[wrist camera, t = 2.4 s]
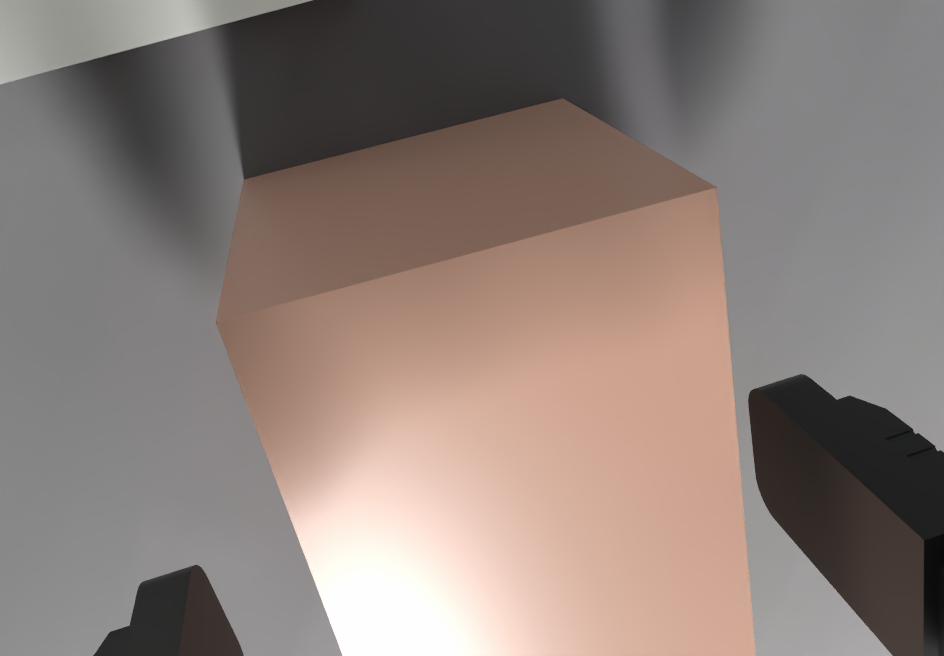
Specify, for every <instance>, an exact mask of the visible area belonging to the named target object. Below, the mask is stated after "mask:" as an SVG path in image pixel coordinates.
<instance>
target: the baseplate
mask: <svg viewBox="0 0 944 656" xmlns="http://www.w3.org/2000/svg"><path fill="white" fill-rule="evenodd" d="M308 1H312V0H0V84H3V83H7V82H11V81H14V80H18V79H22V78H25V77H29V76H33V75H37V74H40V73H44V72H48V71H52V70H55V69H59V68H63V67H66V66H70V65H74V64H78V63H81V62H85V61H89V60H92V59H96V58H100V57H104V56H107V55H111V54H115V53H118V52H122V51H126V50H130V49H133V48H137V47H141V46H145V45H148V44H152V43H156V42H159V41H163V40H167V39H171V38H174V37H178V36H182V35H185V34H189V33H193V32H197V31H200V30H204V29H208V28H212V27H215V26H219V25H223V24H226V23H230V22H234V21H238V20H241V19H245V18H249V17H252V16H256V15H260V14H264V13H267V12H271V11H275V10H278V9H282V8H286V7H290V6H293V5H297V4H301V3H305V2H308Z"/></svg>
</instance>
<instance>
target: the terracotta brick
mask: <svg viewBox="0 0 944 656" xmlns="http://www.w3.org/2000/svg"><path fill="white" fill-rule="evenodd" d="M216 324H217V327H218V329H219V332H220V335H221V337H222V340H223V342H224V345H225V348H226V350H227V353H228V356H229V358H230V361H231V363H232V366H233V369H234V371H235V374H236V377H237V379H238V382H239V384H240V387H241V390H242V392H243V395H244V397H245V400H246V403H247V405H248V408H249V411H250V413H251V416H252V418H253V421H254V424H255V426H256V429H257V432H258V434H259V437H260V439H261V442H262V445H263V447H264V450H265V453H266V455H267V458H268V460H269V463H270V466H271V468H272V471H273V473H274V476H275V479H276V481H277V484H278V487H279V489H280V492H281V494H282V497H283V500H284V502H285V505H286V508H287V510H288V513H289V515H290V518H291V521H292V523H293V526H294V529H295V531H296V534H297V536H298V539H299V542H300V544H301V547H302V549H303V552H304V555H305V557H306V560H307V563H308V565H309V568H310V570H311V573H312V576H313V578H314V581H315V584H316V586H317V589H318V591H319V594H320V597H321V599H322V602H323V605H324V607H325V610H326V612H327V615H328V618H329V620H330V623H331V625H332V628H333V631H334V633H335V636H336V639H337V641H338V644H339V646H340V649H341V652H342V654H343V656H756V653H755V641H754V629H753V617H752V605H751V593H750V581H749V569H748V557H747V545H746V533H745V521H744V508H743V496H742V484H741V472H740V460H739V448H738V436H737V424H736V412H735V400H734V388H733V376H732V364H731V352H730V339H729V327H728V315H727V303H726V291H725V279H724V267H723V255H722V243H721V231H720V219H719V207H718V195H717V187H715V186H714V185H712V184H710V183H708V182H707V181H705V180H703V179H701V178H700V177H698V176H696V175H695V174H693V173H691V172H689V171H688V170H686V169H684V168H682V167H681V166H679V165H677V164H676V163H674V162H672V161H670V160H669V159H667V158H665V157H663V156H662V155H660V154H658V153H657V152H655V151H653V150H651V149H650V148H648V147H646V146H644V145H643V144H641V143H639V142H638V141H636V140H634V139H632V138H631V137H629V136H627V135H625V134H624V133H622V132H620V131H619V130H617V129H615V128H613V127H612V126H610V125H608V124H606V123H605V122H603V121H601V120H600V119H598V118H596V117H594V116H593V115H591V114H589V113H587V112H586V111H584V110H582V109H581V108H579V107H577V106H575V105H574V104H572V103H570V102H568V101H567V100H565V99H563V98H562V99H558V100H554V101H550V102H546V103H542V104H538V105H534V106H530V107H526V108H522V109H519V110H515V111H511V112H507V113H503V114H499V115H495V116H491V117H487V118H483V119H479V120H475V121H472V122H468V123H464V124H460V125H456V126H452V127H448V128H444V129H440V130H436V131H432V132H428V133H424V134H421V135H417V136H413V137H409V138H405V139H401V140H397V141H393V142H389V143H385V144H381V145H377V146H373V147H370V148H366V149H362V150H358V151H354V152H350V153H346V154H342V155H338V156H334V157H330V158H326V159H323V160H319V161H315V162H311V163H307V164H303V165H299V166H295V167H291V168H287V169H283V170H279V171H275V172H272V173H268V174H264V175H260V176H256V177H252V178H248V179H244V182H243V187H242V192H241V197H240V202H239V207H238V212H237V217H236V222H235V227H234V232H233V237H232V242H231V247H230V252H229V258H228V263H227V268H226V273H225V278H224V283H223V288H222V293H221V298H220V303H219V308H218V313H217V318H216Z"/></svg>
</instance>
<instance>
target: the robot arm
mask: <svg viewBox="0 0 944 656" xmlns="http://www.w3.org/2000/svg"><path fill="white" fill-rule="evenodd" d="M748 403H749V415H750V424H751V434H752V444H753V454H754V463H755V473H756V480H757V484H758V488H759V491H760V493H761V496H762V498H763V501H764V503H765V505H766V507H767V509H768V510H769V512H770V513H771V515H772V516H773V518H774V519H775V520H776V521H777V523H778V524H779V525H780V526H781V527H782V528H783V529H784V531H785V532H786V533H787V534H788V535H789V536H790V538H791V539H792V540H793V541H794V542H795V543H796V544H797V546H798V547H799V548H800V549H801V550H802V551H803V553H804V554H805V555H806V556H807V557H808V558H809V559H810V561H811V562H812V563H813V564H814V565H815V566H816V568H817V569H818V570H819V571H820V572H821V573H822V574H823V576H824V577H825V578H826V579H827V580H828V581H829V583H830V584H831V585H832V586H833V587H834V588H835V589H836V591H837V592H838V593H839V594H840V595H841V596H842V597H843V599H844V600H845V601H846V602H847V603H848V604H849V606H850V607H851V608H852V609H853V610H854V611H855V612H856V614H857V615H858V616H859V617H860V618H861V619H862V621H863V622H864V623H865V624H866V625H867V626H868V627H869V629H870V630H871V631H872V632H873V633H874V634H875V636H876V637H877V638H878V639H879V640H880V641H881V642H882V644H883V645H884V646H885V647H886V648H887V649H888V651H889V652H890V653H891V654H892V655H893V656H944V452H942V451H941V450H940V451H937V450H936V448H935V446H934V445H933V444H932V443H931V442H929V441H928V440H927V439H925V438H924V437H923V436H921V435H920V434H919V433H917V434H915V433H914V432H913V429H912V428H911V427H909V426H908V425H907V424H905V423H904V422H903V421H901V420H900V419H899V418H898V417H896V416H895V415H894V414H892V413H891V412H890V411H888V410H887V409H885V408H882V407H880V406H877V405H874V404H871V403H868V402H866V401H863V400H860V399H857V398H855V397H852V396H847V397H844V398H841V399H838V400H836V399H835V398H834V397H833V396H832V395H830V394H829V393H828V392H827V391H825V390H824V389H823V388H822V387H820V386H819V385H818V384H817V383H815V382H814V381H813V380H812V379H810V378H809V377H808V376H806V375H802V374H800V375H797V376H794V377H790V378H787V379H784V380H781V381H778V382H775V383H772V384H768V385H765V386H762V387H759V388H756V389H753V390H752V391H751V392H750V394H749V400H748ZM94 656H243V652H242V649H241V647H240V644H239V642H238V640H237V638H236V636H235V634H234V632H233V629H232V627H231V625H230V623H229V621H228V619H227V617H226V615H225V613H224V611H223V609H222V607H221V605H220V603H219V600H218V598H217V596H216V594H215V592H214V590H213V588H212V586H211V584H210V582H209V580H208V578H207V576H206V574H205V572H204V571H203V569H202V568H201V567H200V566H198V565H194V566H191V567H188V568H185V569H181V570H178V571H175V572H172V573H169V574H166V575H163V576H159V577H156V578H153V579H150V580H147V581H144V582H142V583H141V584H140V586H139V588H138V591H137V595H136V600H135V604H134V609H133V613H132V618H131V622H130V626H127V627H124V628H121V629H118V630H115V631H112V632H110V633H109V634H108V635H107V637H106V638H105V640H104V641H103V643H102V644H101V646H100V647H99V649H98V650H97V652H96V653H95V654H94Z"/></svg>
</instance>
